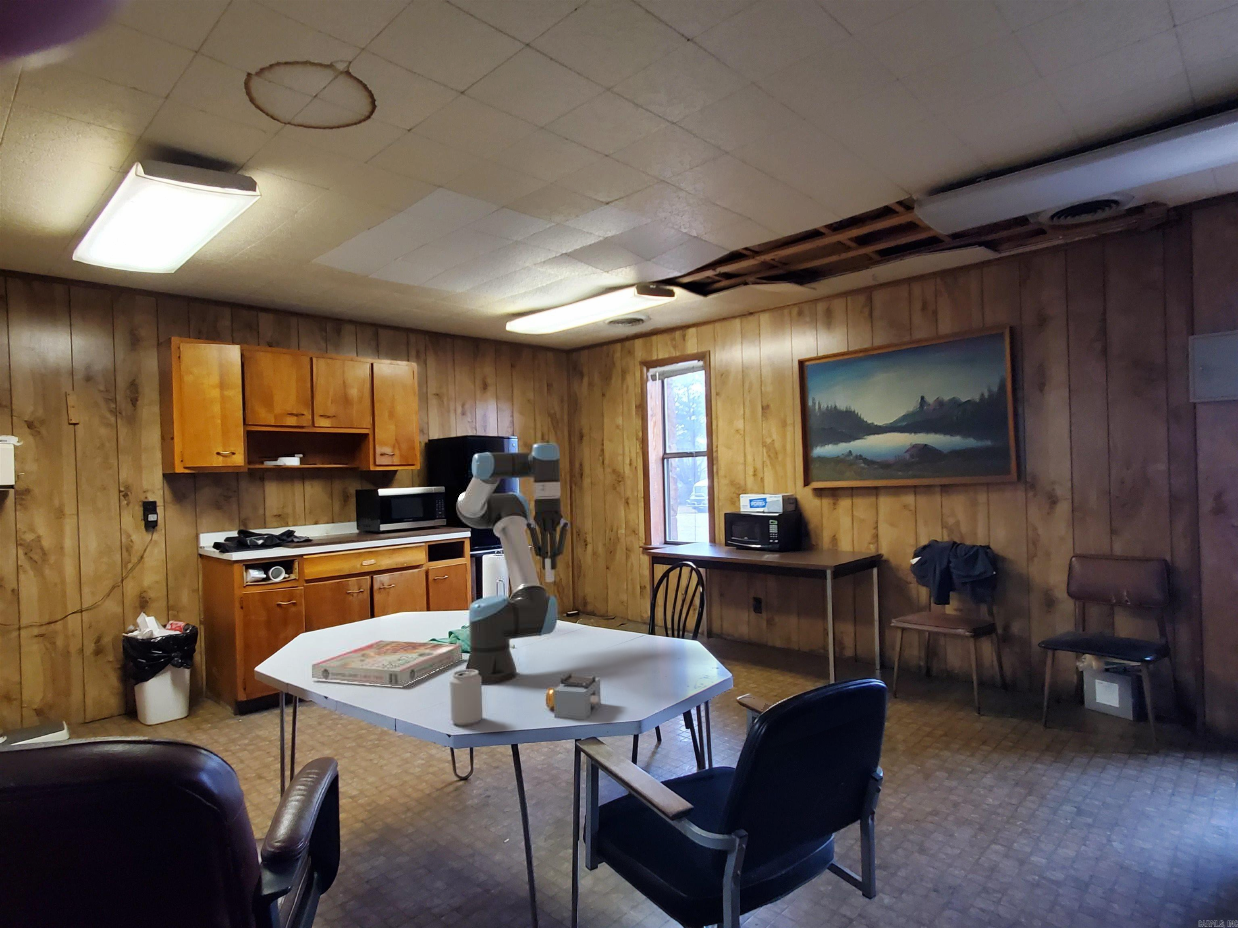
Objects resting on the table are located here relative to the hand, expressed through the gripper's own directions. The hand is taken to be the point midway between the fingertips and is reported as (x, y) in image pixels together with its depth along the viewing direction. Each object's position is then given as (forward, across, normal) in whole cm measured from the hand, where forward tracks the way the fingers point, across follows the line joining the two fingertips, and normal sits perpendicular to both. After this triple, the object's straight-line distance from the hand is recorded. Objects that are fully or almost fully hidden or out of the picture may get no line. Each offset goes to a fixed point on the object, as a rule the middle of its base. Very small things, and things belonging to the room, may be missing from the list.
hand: (550, 581), depth 197 cm
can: (+30, -10, -31) cm, 44 cm away
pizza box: (+30, -58, +7) cm, 66 cm away
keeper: (+23, +14, -18) cm, 32 cm away
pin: (+29, +13, -18) cm, 37 cm away
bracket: (+29, +14, -18) cm, 37 cm away
